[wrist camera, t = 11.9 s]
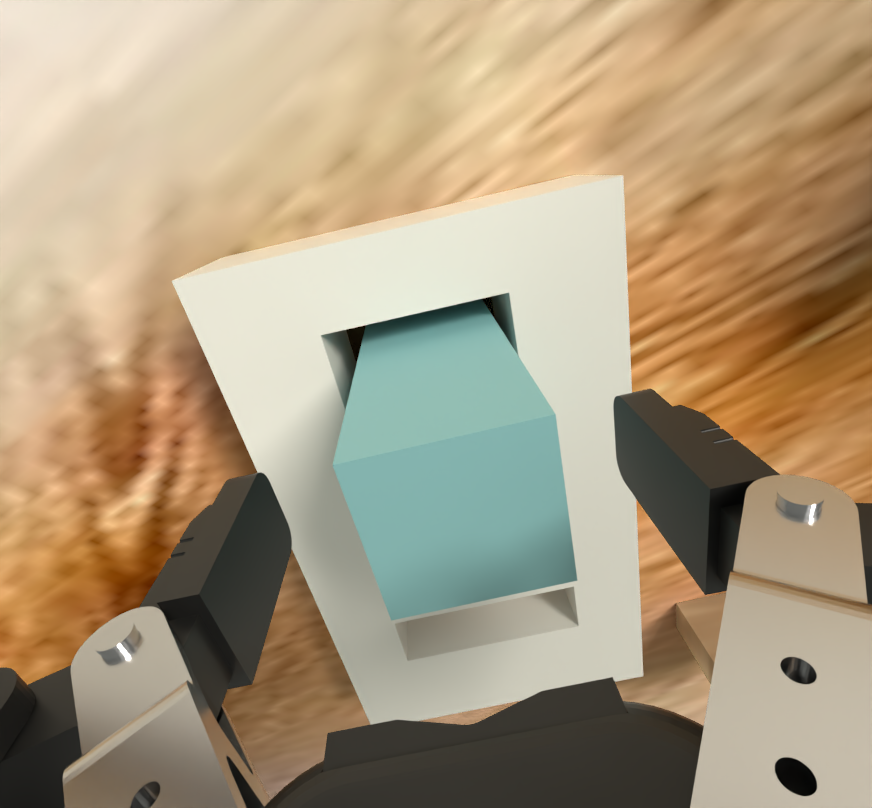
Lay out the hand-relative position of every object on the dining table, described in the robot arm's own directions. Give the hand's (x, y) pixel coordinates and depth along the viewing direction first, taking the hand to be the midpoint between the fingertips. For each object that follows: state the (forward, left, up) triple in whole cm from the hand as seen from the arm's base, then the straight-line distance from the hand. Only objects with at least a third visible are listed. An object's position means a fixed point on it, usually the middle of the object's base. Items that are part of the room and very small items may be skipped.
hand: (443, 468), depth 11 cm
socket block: (+5, 0, -8) cm, 9 cm away
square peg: (0, 0, -8) cm, 8 cm away
